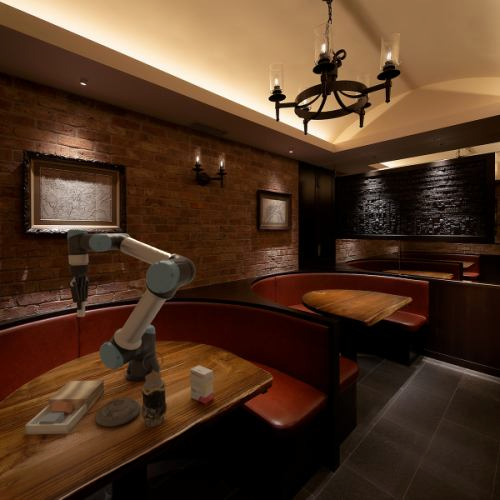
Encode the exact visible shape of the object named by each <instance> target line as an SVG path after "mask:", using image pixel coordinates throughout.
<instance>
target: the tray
mask: <svg viewBox="0 0 500 500" xmlns="http://www.w3.org/2000/svg"><path fill="white" fill-rule="evenodd" d="M50 411H51V405H49V404H48V405H47V406H45V407H44V408H43V409H42V410H41V411H40V412H38V414H36V415H35V416H34V417H33V418H32V419H30V420H29V421H28V422H27V423H26V424H25V425H24V432H25V435H52V434H53V435H55V434H56V435H58V434H59V435H61V434H63V435H65V434H69V433H70V432H71V431H72V430H73V428H74V427H75V426H76V425H77V424H78V423H79V421H80V420H81V419H82V418H83V417H84V416H85V415H86V413H87V412H88V411H87V404H84V405H83V406H82V407H81V408H80V409H79V410H72V413H71V414H64V421H63V422H62V423H57V424H39V421H40V420H41V419H42V418H44V417H45V416H46V415H47V414H48V413H49V412H50Z"/></svg>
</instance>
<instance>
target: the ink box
mask: <svg viewBox="0 0 500 500" xmlns="http://www.w3.org/2000/svg"><path fill="white" fill-rule="evenodd" d="M189 371H190V398H191V399H194V400H196V401H198V402H200V403H203V404H205V405H207V404H208V403H209V402H210V401H212V400H213V399H214V370H212V369H209V368H207V367H204V366H202V365H199V364H198V365H197V366H195V367H192V368H191V369H190V370H189Z"/></svg>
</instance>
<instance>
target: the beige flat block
mask: <svg viewBox="0 0 500 500" xmlns="http://www.w3.org/2000/svg"><path fill="white" fill-rule="evenodd" d="M104 393H105V382H104V380H69V381H68V382H67V383H66V384H64V385H63V386H62V387H61V388H59V390H57V392H55V393H54V394H53V395H52V396H51V397H49V398H48V405H51V408H52V405H53V402H70V403H72V404H74V407H73V410H79V409H80V408H81V407H82V406H83V405H84V404H87V412H88V411H89V410H90V409H91V408H92V407H93V405H94V404H95V403H96V402H97V401H98V400H99V399H100V397H101V396H102V395H103V394H104Z"/></svg>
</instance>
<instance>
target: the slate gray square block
mask: <svg viewBox="0 0 500 500" xmlns="http://www.w3.org/2000/svg"><path fill="white" fill-rule="evenodd" d="M63 421H64V412H49V413H48V414H47V415H46V416H45V417H44V418H42V419H41V420H40V421H39V424H57V423H62V422H63Z"/></svg>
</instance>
